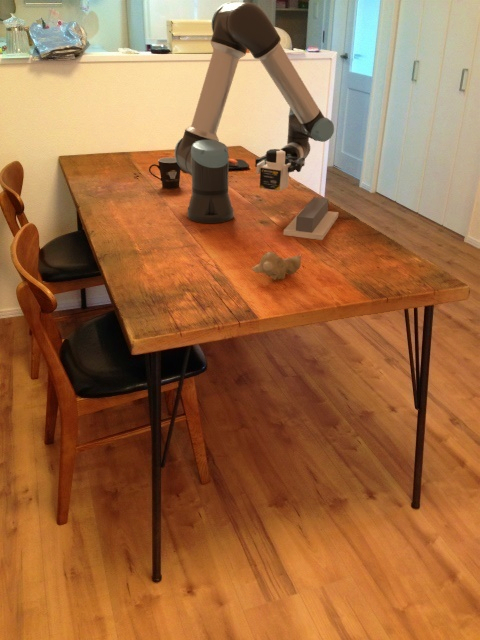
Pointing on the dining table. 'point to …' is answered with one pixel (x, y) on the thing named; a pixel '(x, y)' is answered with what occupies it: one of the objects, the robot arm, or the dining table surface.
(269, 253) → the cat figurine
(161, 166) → the coffee mug
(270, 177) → the medicine bottle
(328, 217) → the stand
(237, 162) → the sushi plate
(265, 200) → the dining table surface
